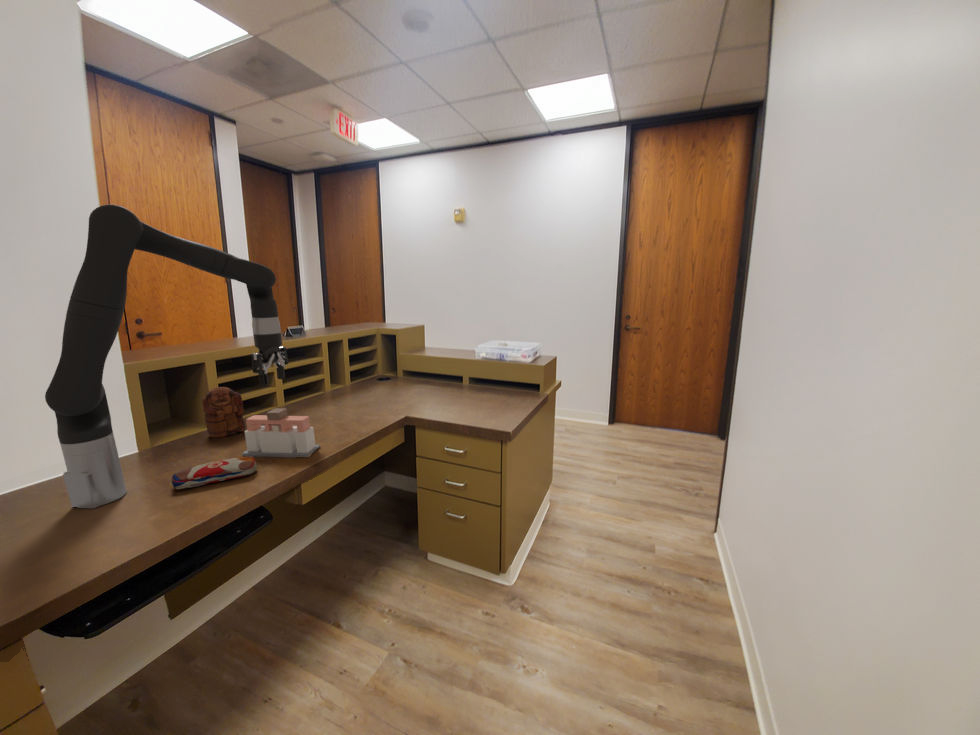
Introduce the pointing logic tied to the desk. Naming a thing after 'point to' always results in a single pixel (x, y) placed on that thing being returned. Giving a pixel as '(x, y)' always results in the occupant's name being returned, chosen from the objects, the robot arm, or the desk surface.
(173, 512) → the desk surface
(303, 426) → the pink arch block
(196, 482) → the pencil case
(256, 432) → the white block cluster
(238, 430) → the wooden figurine
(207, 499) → the desk surface
